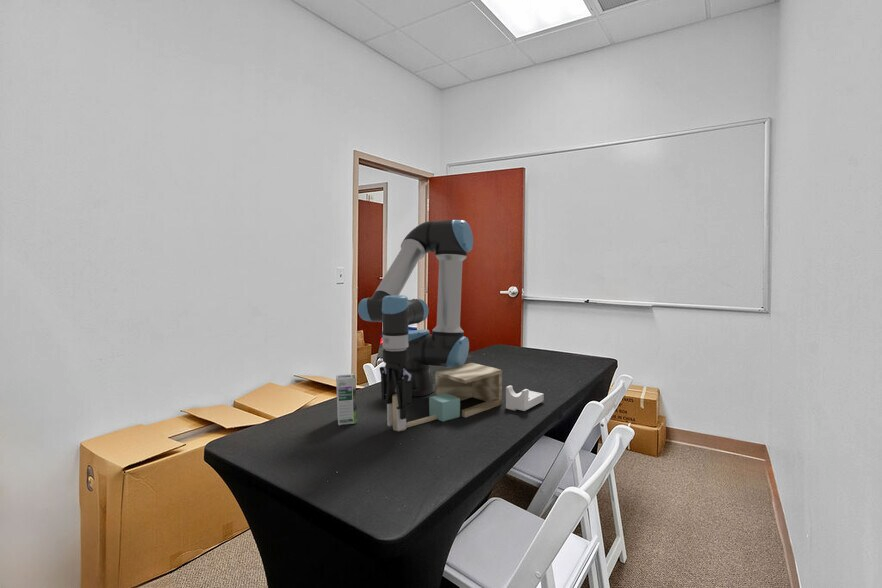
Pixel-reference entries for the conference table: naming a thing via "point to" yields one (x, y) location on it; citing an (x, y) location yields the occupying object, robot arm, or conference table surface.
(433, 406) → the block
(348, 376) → the syrup box
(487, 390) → the wooden frame
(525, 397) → the bracket
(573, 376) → the conference table surface
